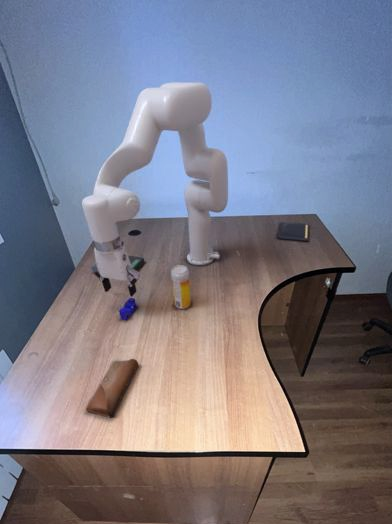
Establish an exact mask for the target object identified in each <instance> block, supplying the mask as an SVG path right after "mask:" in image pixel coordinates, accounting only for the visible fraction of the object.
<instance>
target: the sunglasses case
mask: <svg viewBox="0 0 392 524" xmlns="http://www.w3.org/2000/svg"><path fill="white" fill-rule="evenodd" d="M138 365H139V361H138V360H137V359H135V358H130V359H128V360H122V361H113V363H112V364H111V365H110V367H109V369H108V370H107V372H106V373H105V375H104V377H103V378H102V380H101V382H100V384H99V386H98V387H97V389H96V390H95V392H94V394H93V395H92V396H91V399H90V400H89V402H88V404H87V405H86V408H85V410H86V411H87V412H88V413H91V414H94V415H98V416H102V417H105V418H108V419H109V418H112V417H113V416H114V415H115V412H116V410H117V409H118V407H119V404H120V402H121V400H122V398H123V396H124V393H125V392H126V389H127V388H128V386H129V384H130V381H131V379H132V377H133V375H134V374H135V372H136V370H137V368H138Z"/></svg>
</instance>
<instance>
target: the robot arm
mask: <svg viewBox="0 0 392 524" xmlns="http://www.w3.org/2000/svg"><path fill="white" fill-rule="evenodd" d="M212 101H213V100H212V95H211V91H210V89H209V87H208V86H207V85H206V84H205V83H203V82H198V81H197V82H196V81H195V82H193V81H192V82H184V81H183V82H182V81H177V82H175V81H174V82H166V83H163V84H161V85H160V86H159V87H147V88H145V89H142V90H141V91H140V93H139V94H138V95H137V99H136V102H135V105H134V107H133V111H132V113H131V116H130V119H129V122H128V125H127V128H126V131H125V134H124V137H123V140H122V142H121V144H120V145H119V146H118V147H117V148H115V150H114V151H113V152H112V153H111V154H110V156H109V157H108V158H107V159H106V160H105V162H104V163H103V164H102V166H101V168H100V169H99V172H98V174H97V177H96V180H95V183H94V188H93V192H92V194H90V195H88V196H85V197H84V198H83V199H82V201H81V206H82V210H83V214H84V216H85V220H86V223H87V226H88V230H89V232H90V236H91V239H92V242H93V246H94V248H93V251H94V258H95V263H94V264H93V265H91V266H90V269H91V271H92V272H93V273H94V272H95V273H94V275H95V276H96V277H97V278H98V280H99V282H101V283H102V287H103V289H104V290H103V291H104V292H105V293H108V292H109V291H110V290H111V289H112V283H111V281H110V280H116V281H121V282H122V281H123V282H125V283H126V284H127V285H128V286H127V289H128V294H129V297H130V298H133V297H134V295H135V294H136V293H137V287H136V283H137V282H138V281H139V279H140V276H141V273H140V272H139V271H136V270H134V269H133V268H132V267H131V263H130V260H129V257H128V256H129V254H128V252H127V250H126V248H125V246H124V243H125V242H124V241H123V240H121V239H120V235H119V230H118V225H117V223H120V222H124V221H129V220H132V219H134V218H135V217H137V215H138V214H139V212H140V209H141V201H140V200H139V196H138V195H136V193H134V192H133V191H132V190H129V189H125V188H121V187H120V185H121V184H122V182H123V180H124V179H126V177H127V176H129V175H130V174H131V173H134V172H135V171H138V170H141V169H142V168H144V167H146V166H148V165H150V164H151V162H152V161H153V157H154V154H155V151H156V149H157V147H158V143H159V141H160V138H161V135H162V133H163V131H168V132H169V131H170V132H177V133H178V137H179V142H180V143H179V144H180V149H181V156H182V162H183V168H184V172H185V174H186V176H187V177H189V178H191V179H192V180H190V181H188V182H187V184H186V185H185V187H184V192H183V197H184V198H183V199H184V202H185V206H186V211H187V223H188V239H189V240H188V241H189V253H188V254H187V255H186V260H187V262H188V263H189V264H191V265H195V266H205V265H209V264H211V263H212V262H213V261H214V260H215V259H217V260H220V257H221V255H220V253H219V251H214V250H213V247H212V218H211V214H210V212H211V213H215V214H216V213H217V214H219V213H222V212H224V211H225V210H226V208H227V205H228V201H229V172H228V171H229V170H228V169H229V168H228V167H229V166H228V160H227V157H226V154H225V153H224V151H223V150H221V149H219V148H215V147H214V148H213V147H208V146H207V141H206V132H205V127H204V122H206V120H207V119H208V118H209V116H210V114H211V110H212ZM131 274H132V275H133V276H131Z"/></svg>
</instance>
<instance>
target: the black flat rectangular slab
mask: <svg viewBox="0 0 392 524" xmlns="http://www.w3.org/2000/svg"><path fill="white" fill-rule="evenodd" d="M309 226H310V225H309V224H308V223H307V224H306V223H302V222H291V221H281V222H280V226H279V230H278V235H277V239H278V240H283V241H297V242H305V243H307V242H309Z"/></svg>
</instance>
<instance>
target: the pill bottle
mask: <svg viewBox="0 0 392 524" xmlns="http://www.w3.org/2000/svg"><path fill="white" fill-rule="evenodd" d="M170 278H171V288H172V294H173V295H172V297H173V303H174V306H175V307H176V308H177V309H179V310H186V309H188V308H189V307H190V305H191V287H190V272H189V269H188V267H187V266H186V265H183V264H178V265H174V266H172V268H171V271H170Z"/></svg>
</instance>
